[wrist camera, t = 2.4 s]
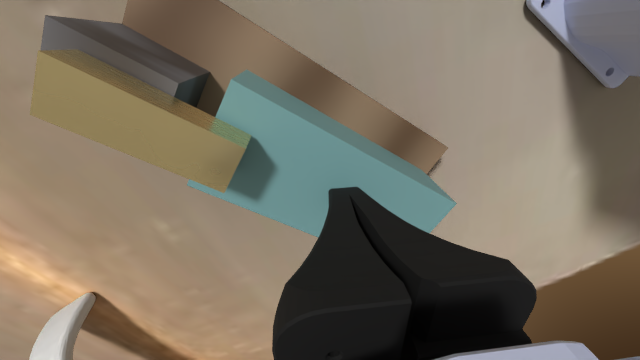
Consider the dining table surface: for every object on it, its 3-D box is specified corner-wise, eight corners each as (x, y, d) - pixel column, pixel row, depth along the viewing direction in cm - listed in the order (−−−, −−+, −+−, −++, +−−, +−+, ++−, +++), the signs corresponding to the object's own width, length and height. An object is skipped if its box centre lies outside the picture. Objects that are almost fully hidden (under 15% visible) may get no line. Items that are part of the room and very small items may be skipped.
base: (432, 137, 18) (494, 178, 13) (360, 230, 21) (384, 295, 16) (160, -37, 12) (60, -99, 7) (117, 125, 16) (24, 170, 10)
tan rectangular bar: (251, 135, 10) (246, 149, 9) (232, 175, 11) (224, 193, 10) (77, 49, 8) (38, 50, 7) (67, 104, 9) (29, 114, 8)
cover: (421, 170, 17) (456, 203, 13) (376, 225, 19) (397, 268, 15) (246, 69, 13) (231, 79, 10) (211, 151, 15) (186, 185, 11)
